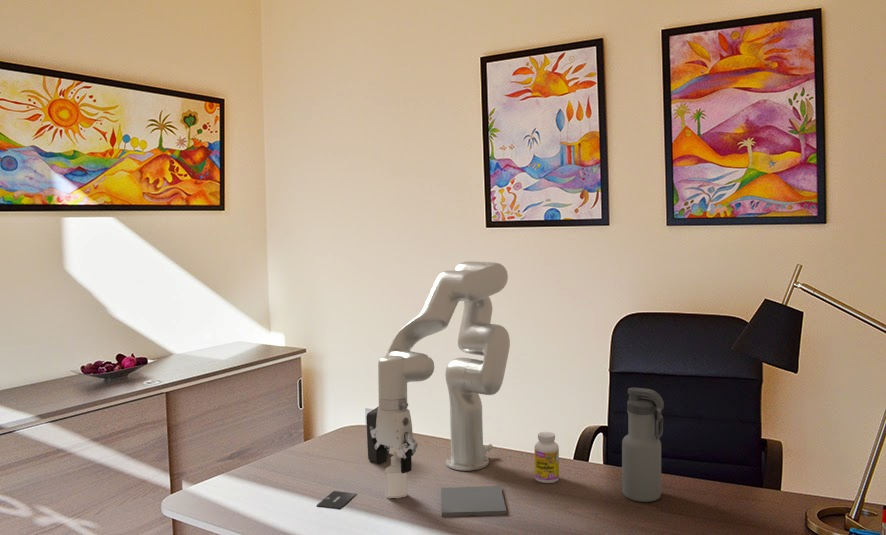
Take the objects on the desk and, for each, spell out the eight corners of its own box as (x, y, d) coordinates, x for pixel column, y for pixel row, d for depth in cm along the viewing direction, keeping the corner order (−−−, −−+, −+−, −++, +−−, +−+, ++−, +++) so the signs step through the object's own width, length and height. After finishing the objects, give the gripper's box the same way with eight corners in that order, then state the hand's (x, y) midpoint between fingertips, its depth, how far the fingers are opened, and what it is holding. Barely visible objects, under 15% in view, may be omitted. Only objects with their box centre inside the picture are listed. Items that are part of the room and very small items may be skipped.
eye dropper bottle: (403, 500, 192) (401, 455, 191) (383, 498, 194) (382, 453, 193) (409, 494, 196) (408, 450, 195) (390, 491, 198) (388, 448, 197)
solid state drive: (316, 508, 190) (316, 505, 190) (333, 493, 200) (333, 490, 200) (340, 510, 188) (340, 508, 188) (357, 495, 197) (357, 493, 197)
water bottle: (666, 492, 193) (666, 387, 191) (658, 506, 185) (658, 396, 182) (627, 486, 198) (627, 383, 196) (618, 499, 190) (617, 392, 187)
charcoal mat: (441, 491, 198) (440, 487, 198) (500, 489, 198) (500, 485, 198) (441, 516, 182) (441, 512, 182) (506, 514, 182) (506, 510, 182)
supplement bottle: (532, 482, 202) (531, 436, 201) (538, 474, 209) (537, 429, 207) (556, 485, 200) (555, 439, 199) (561, 476, 206) (561, 431, 205)
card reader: (378, 463, 221) (377, 414, 219) (366, 461, 222) (364, 413, 221) (391, 453, 229) (390, 406, 228) (379, 452, 231) (378, 405, 229)
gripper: (426, 406, 190) (426, 471, 191) (382, 395, 202) (382, 457, 203) (404, 412, 184) (405, 479, 185) (360, 400, 196) (361, 463, 197)
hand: (393, 467), depth 194 cm, fingers open, 9 cm apart
